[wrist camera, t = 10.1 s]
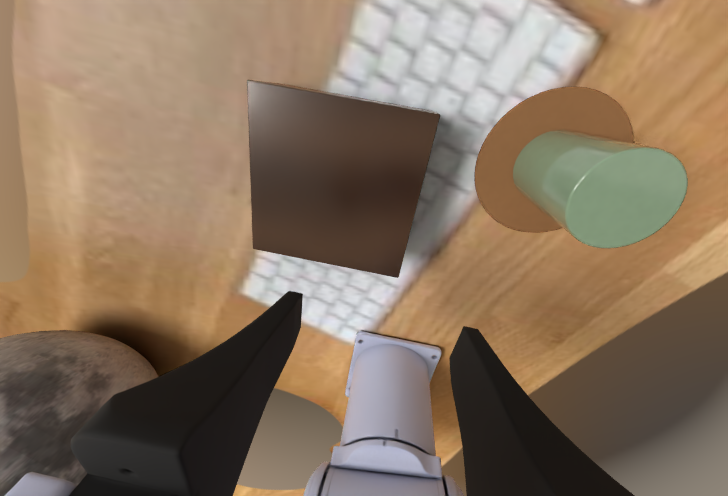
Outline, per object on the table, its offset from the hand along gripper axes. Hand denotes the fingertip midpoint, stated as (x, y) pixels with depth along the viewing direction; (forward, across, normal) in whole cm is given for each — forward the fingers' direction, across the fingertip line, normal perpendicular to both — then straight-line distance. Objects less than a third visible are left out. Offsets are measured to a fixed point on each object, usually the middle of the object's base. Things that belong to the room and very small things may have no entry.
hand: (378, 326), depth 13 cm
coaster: (+10, -9, -6) cm, 15 cm away
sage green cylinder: (+10, -9, -6) cm, 15 cm away
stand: (+10, +4, -3) cm, 12 cm away
